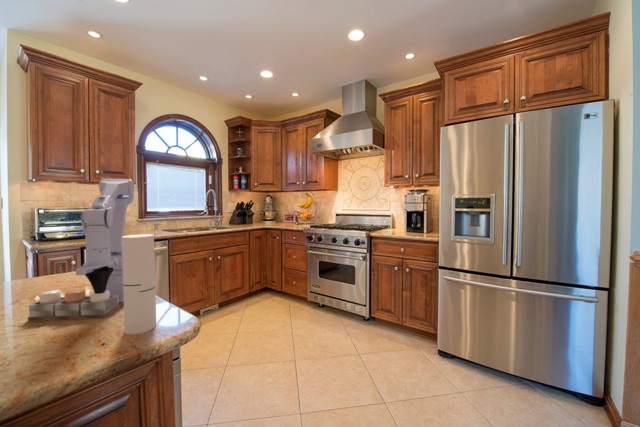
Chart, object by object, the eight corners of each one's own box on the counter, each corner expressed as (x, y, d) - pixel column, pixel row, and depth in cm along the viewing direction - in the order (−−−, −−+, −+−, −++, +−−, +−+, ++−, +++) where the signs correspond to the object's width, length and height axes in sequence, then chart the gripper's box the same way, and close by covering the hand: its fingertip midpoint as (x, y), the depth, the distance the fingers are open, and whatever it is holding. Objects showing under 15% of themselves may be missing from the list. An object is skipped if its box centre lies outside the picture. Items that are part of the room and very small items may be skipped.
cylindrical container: (128, 324, 75) (125, 235, 74) (158, 320, 78) (155, 233, 77) (121, 336, 69) (118, 238, 68) (153, 331, 72) (151, 236, 71)
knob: (113, 302, 85) (113, 290, 85) (102, 308, 81) (102, 295, 80) (97, 303, 85) (97, 290, 85) (86, 308, 80) (85, 295, 80)
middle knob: (89, 301, 85) (89, 289, 84) (77, 307, 80) (77, 294, 80) (74, 302, 84) (73, 289, 84) (61, 308, 80) (60, 294, 80)
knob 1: (65, 302, 84) (65, 289, 84) (52, 308, 80) (51, 294, 79) (49, 303, 84) (49, 290, 84) (35, 308, 79) (34, 295, 79)
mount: (119, 309, 86) (119, 295, 86) (104, 318, 80) (103, 303, 80) (49, 311, 85) (49, 297, 85) (28, 320, 78) (27, 305, 78)
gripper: (101, 244, 89) (103, 285, 89) (63, 252, 74) (65, 301, 75) (124, 244, 89) (125, 285, 90) (90, 252, 75) (92, 301, 76)
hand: (99, 292), depth 83 cm, fingers closed, pressing on knob
